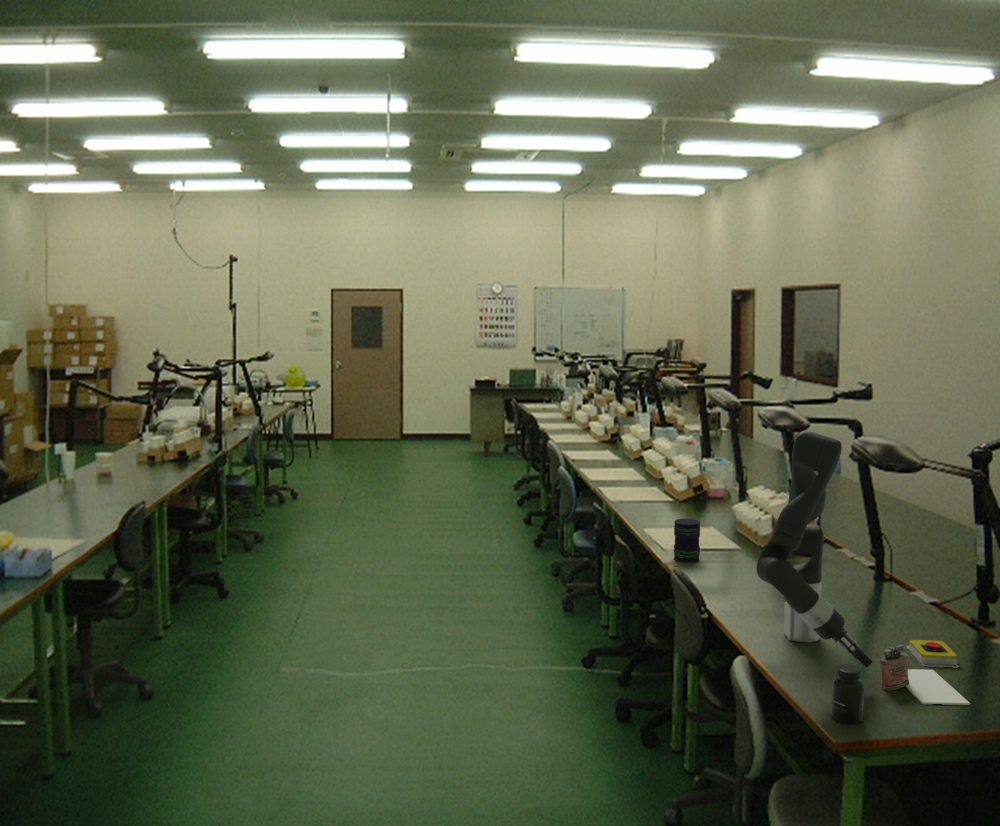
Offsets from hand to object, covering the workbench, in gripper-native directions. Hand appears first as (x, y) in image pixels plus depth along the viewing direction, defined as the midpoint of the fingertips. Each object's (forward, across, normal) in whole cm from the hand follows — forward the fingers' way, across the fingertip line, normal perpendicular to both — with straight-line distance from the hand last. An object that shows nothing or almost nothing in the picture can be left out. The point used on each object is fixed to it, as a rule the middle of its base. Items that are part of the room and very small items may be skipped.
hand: (868, 663), depth 218 cm
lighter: (+9, 0, -1) cm, 9 cm away
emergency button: (+22, +20, -13) cm, 33 cm away
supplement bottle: (-4, -18, +12) cm, 22 cm away
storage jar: (-14, +117, +23) cm, 120 cm away
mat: (+15, 0, -6) cm, 16 cm away
